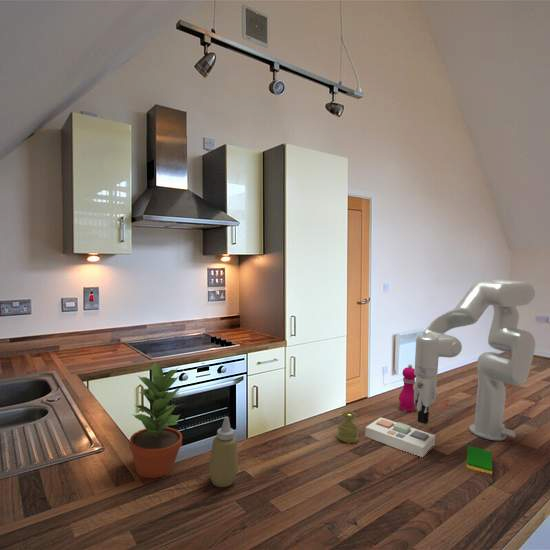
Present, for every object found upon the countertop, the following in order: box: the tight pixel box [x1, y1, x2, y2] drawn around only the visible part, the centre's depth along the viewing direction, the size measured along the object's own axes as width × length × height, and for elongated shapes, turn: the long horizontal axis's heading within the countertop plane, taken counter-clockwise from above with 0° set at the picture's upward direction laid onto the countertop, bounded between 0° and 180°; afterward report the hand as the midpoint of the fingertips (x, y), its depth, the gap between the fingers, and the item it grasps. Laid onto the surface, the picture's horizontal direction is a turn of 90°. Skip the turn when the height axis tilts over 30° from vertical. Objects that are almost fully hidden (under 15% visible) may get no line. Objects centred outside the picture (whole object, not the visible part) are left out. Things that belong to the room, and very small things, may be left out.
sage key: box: [393, 422, 411, 435], centre depth 142 cm, size 5×5×3 cm
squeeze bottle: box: [208, 416, 239, 488], centre depth 108 cm, size 8×8×18 cm
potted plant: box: [128, 360, 183, 479], centre depth 112 cm, size 15×15×30 cm
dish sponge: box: [466, 445, 493, 475], centre depth 129 cm, size 7×14×2 cm, turn 152°
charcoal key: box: [411, 430, 428, 441], centre depth 138 cm, size 5×5×3 cm
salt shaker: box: [336, 409, 360, 444], centre depth 140 cm, size 7×7×10 cm
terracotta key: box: [377, 419, 394, 429], centre depth 146 cm, size 5×5×3 cm
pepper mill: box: [398, 363, 416, 412], centre depth 173 cm, size 7×7×20 cm
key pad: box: [364, 417, 436, 458], centre depth 141 cm, size 21×13×4 cm, turn 51°
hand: (422, 422), depth 139 cm, fingers closed
